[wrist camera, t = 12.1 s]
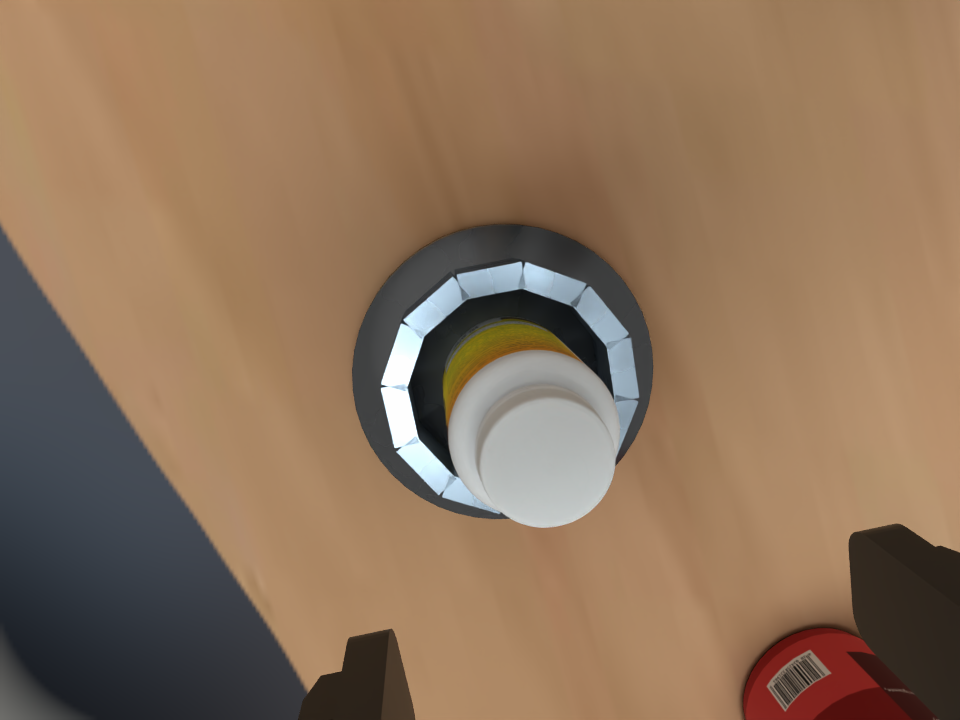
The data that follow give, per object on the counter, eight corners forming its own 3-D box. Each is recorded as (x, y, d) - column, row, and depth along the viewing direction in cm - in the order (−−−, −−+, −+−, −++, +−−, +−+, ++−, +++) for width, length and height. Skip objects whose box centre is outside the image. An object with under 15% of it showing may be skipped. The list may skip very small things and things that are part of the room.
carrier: (408, 180, 28) (406, 175, 25) (688, 281, 30) (723, 290, 27) (318, 462, 31) (304, 494, 27) (583, 539, 32) (603, 579, 29)
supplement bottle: (414, 371, 29) (408, 454, 19) (516, 287, 28) (565, 327, 18) (496, 465, 30) (532, 590, 20) (595, 385, 30) (682, 473, 20)
